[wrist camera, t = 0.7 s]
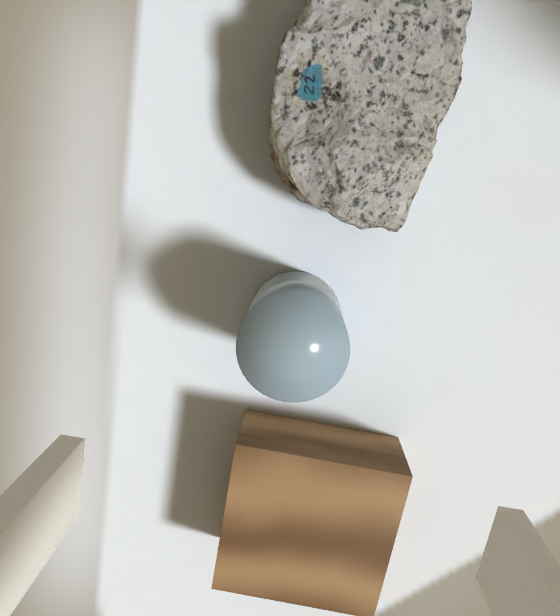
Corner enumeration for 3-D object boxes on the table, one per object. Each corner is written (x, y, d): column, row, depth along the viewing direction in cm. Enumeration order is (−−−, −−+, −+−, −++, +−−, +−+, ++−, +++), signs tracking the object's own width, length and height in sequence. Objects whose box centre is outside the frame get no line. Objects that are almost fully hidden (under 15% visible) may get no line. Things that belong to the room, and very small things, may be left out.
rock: (311, -39, 26) (317, -92, 21) (471, 22, 27) (513, -17, 22) (242, 188, 29) (233, 187, 24) (388, 237, 30) (408, 246, 25)
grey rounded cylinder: (257, 264, 31) (243, 285, 24) (347, 279, 31) (360, 304, 24) (245, 350, 32) (229, 392, 26) (331, 364, 32) (338, 410, 25)
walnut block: (245, 407, 34) (235, 444, 29) (397, 435, 34) (412, 476, 29) (224, 535, 36) (211, 588, 32) (364, 561, 36) (373, 618, 32)
